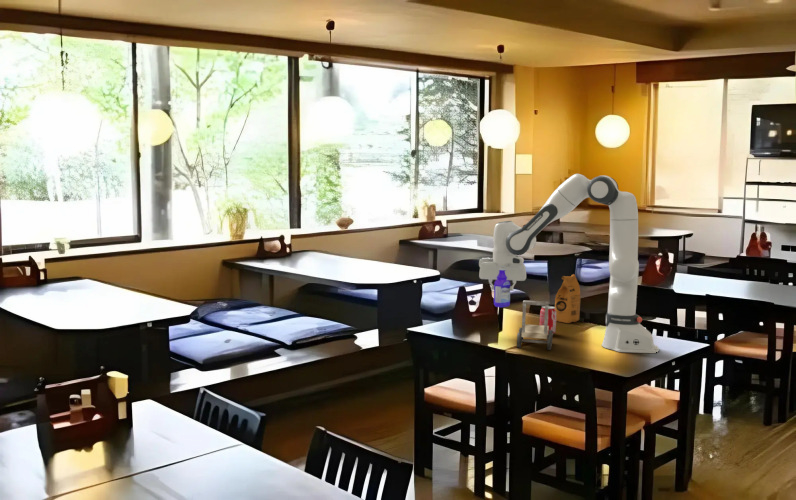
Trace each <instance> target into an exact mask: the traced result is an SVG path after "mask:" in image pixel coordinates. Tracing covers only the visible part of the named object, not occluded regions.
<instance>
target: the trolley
mask: <svg viewBox="0 0 796 500" xmlns="http://www.w3.org/2000/svg"><path fill="white" fill-rule="evenodd" d="M527 305H528V306H531V305H532V306H541V307H542V306H545V322H544V326H542V325H540V324H539V325H538V324H526V317H527V313H526V312H527ZM548 306H550V305H549V301H541V300H540V301H539V300H526V299H525V300H523V301H522V316H521V317H522V319H521V327H519V330H518V332H517V336H516V348H521V347H522V343H523V342H524V343H533V344H534V343H535V344H546V350H548V351H552V344H553V335H554V334H553V330H549V326H547V325H548ZM548 330H549V334H548ZM532 338H533V339H532ZM543 339H545V340H543Z"/></svg>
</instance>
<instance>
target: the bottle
mask: <svg viewBox="0 0 796 500" xmlns="http://www.w3.org/2000/svg"><path fill="white" fill-rule="evenodd" d="M505 269H506V268H505V267H499V274H498V276H497V280H495V281H494V284H493V285H494V290H493V305H494V307H496V308H506V307H507V308H508V307H510V304H511V291H510V286H511V280H506V279H507V277H506V275H505V271H506V270H505Z"/></svg>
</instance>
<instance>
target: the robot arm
mask: <svg viewBox="0 0 796 500" xmlns="http://www.w3.org/2000/svg"><path fill="white" fill-rule="evenodd" d="M588 198H590V200H592V201H593V202H595V203H598V204H602V205H605V206H608V208H609V255H608V262H609V263H608V264H609V265H608V271H609V273H610V276H609V289H608V301H607V312H606V314H605V332H604V336H603V341H602V343H601V347H603V348H605V349H608V350H612V351H616V352H618V353H636V354H657V353H659V352H660V351H659V350H660V349H659V346H658V345H656V344H655V343H654V337H653V334H652V333H651V331H650V330H648V329H647V328H646V327H644V326H643V325H642V324H641V323H642V321H643V318H642V317H641V316H640V315H638V314H637V313H636V310H637V298H638V296H637V295H638V283H639V269H640V262H639V260H638V258H639V210H638V203H637V202H638V201H637V199H636V196H635V195H634V194H633V193H632V192H628V191H621V190H619V185H618V182H617V181H616V180H615V179H614V178H613V177H611V176H608V175H598V176H594V177H593V178H592V179H589V178H587V177H586V175H583V174H580V173H575V174H572V175H571V176H569V177H568V178H567V179H565V180H564V181H563V182H562V183H561V184H559V186H558V187H556V189H555V190H554V191H553V192H552V194H550V196H549V197H548V198H547V200H546V201H545V202H544V204H543V205H542V207H541V208H540V210H538V212H537V213H536V214H534V216H533V217H532V218H531V219H530V220H528V222H527V223H525V225H523V226H522V227H521V226H519V225H517V224H516V223H515V222H514V221H512V220H506V221H500V222H498V223H496V224H495V226H494V229H493V235H492V236H493V238H492V239H493V250H492V257H482V258H480V259H479V260H478V261H479V262H478V266H479V273H478V274H479V275H478V278H479V279H481V280H488V284H489V286H490V290H491V291H494V284H493V281H494V280H495V281H496V280H497V276H498V274H499V267H505V268H506V269H505V270H506V271H505V275H506V277H507V279H506V280H509V281H512V285H510V292H511V291H514V290H515V289H514V287H515V285H516V284H517V281H518V282H519V281H520V282H524V281H526V279H527V268H526V265H525V264H524V261H525V259H524V258H523V257H521V255H524V254H525V253H527V252H529V251H531V250H532V249H534V248H535V246H536V244H537V235H538V234H539V233H541V231H543V229H545V228H546V227H547V226H548V225H549V224H551V223H552V222H554V221H557V220H559V219H562V218H564V217H565V216H567V215H568V214H570V213H571V212H572V211H574V209H576V208H577V206H578V205H579V204H580V203H582V202H583V201H584V200H586V199H588ZM658 351H659V352H658ZM656 352H657V353H656Z"/></svg>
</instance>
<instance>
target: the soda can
mask: <svg viewBox="0 0 796 500" xmlns="http://www.w3.org/2000/svg"><path fill="white" fill-rule="evenodd" d="M544 322H545V306H541V309H540V312H539V325H542V326H544ZM547 326H549V330H553V335H554V334H556V330H557V329H556V327H557V321H556V310H555V306H552V305H548V325H547ZM549 330H548V334H549Z"/></svg>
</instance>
